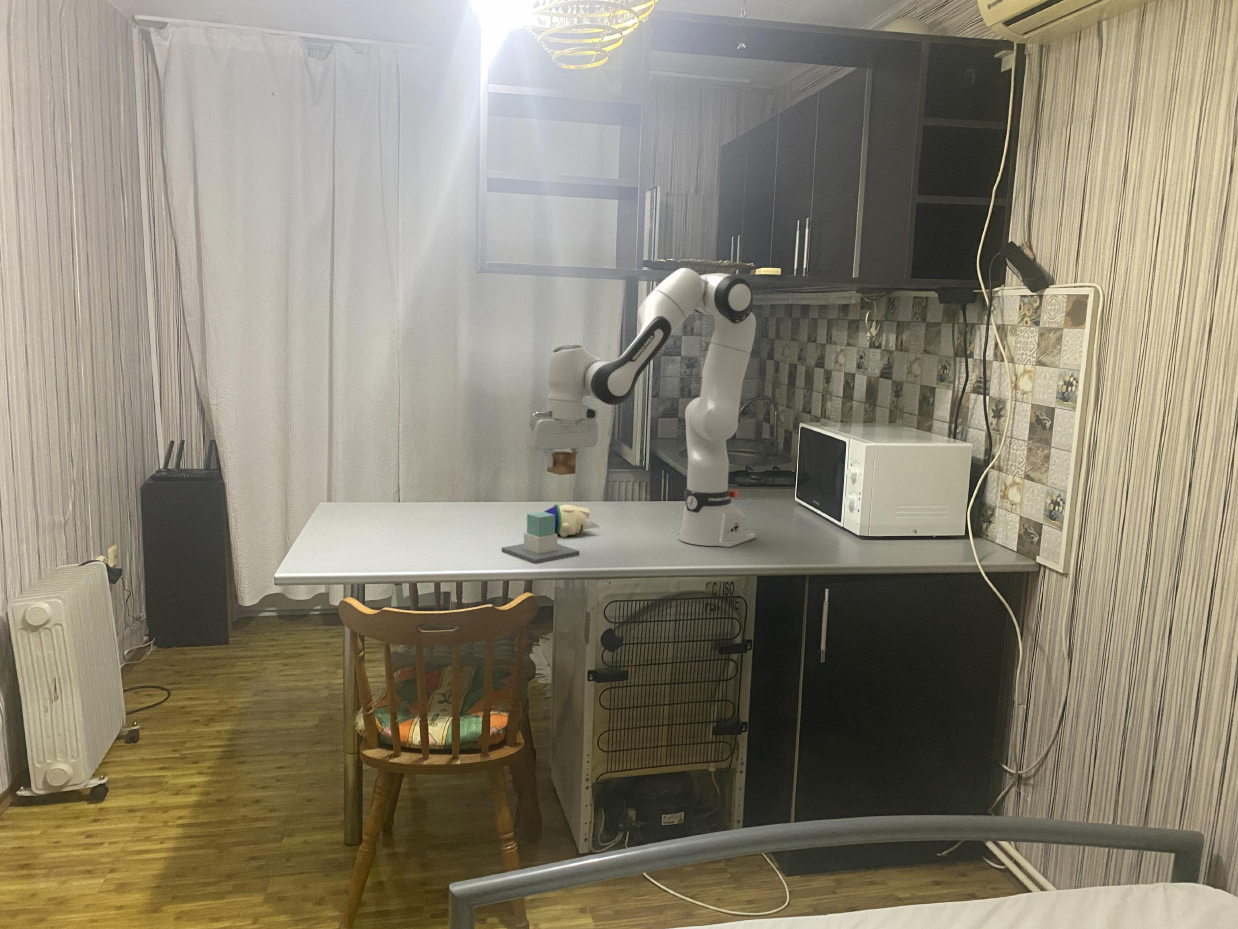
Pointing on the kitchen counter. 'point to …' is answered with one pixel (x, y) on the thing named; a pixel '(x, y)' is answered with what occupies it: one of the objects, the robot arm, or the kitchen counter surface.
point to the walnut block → (563, 463)
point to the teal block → (541, 524)
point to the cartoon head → (570, 519)
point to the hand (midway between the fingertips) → (561, 466)
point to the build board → (536, 556)
